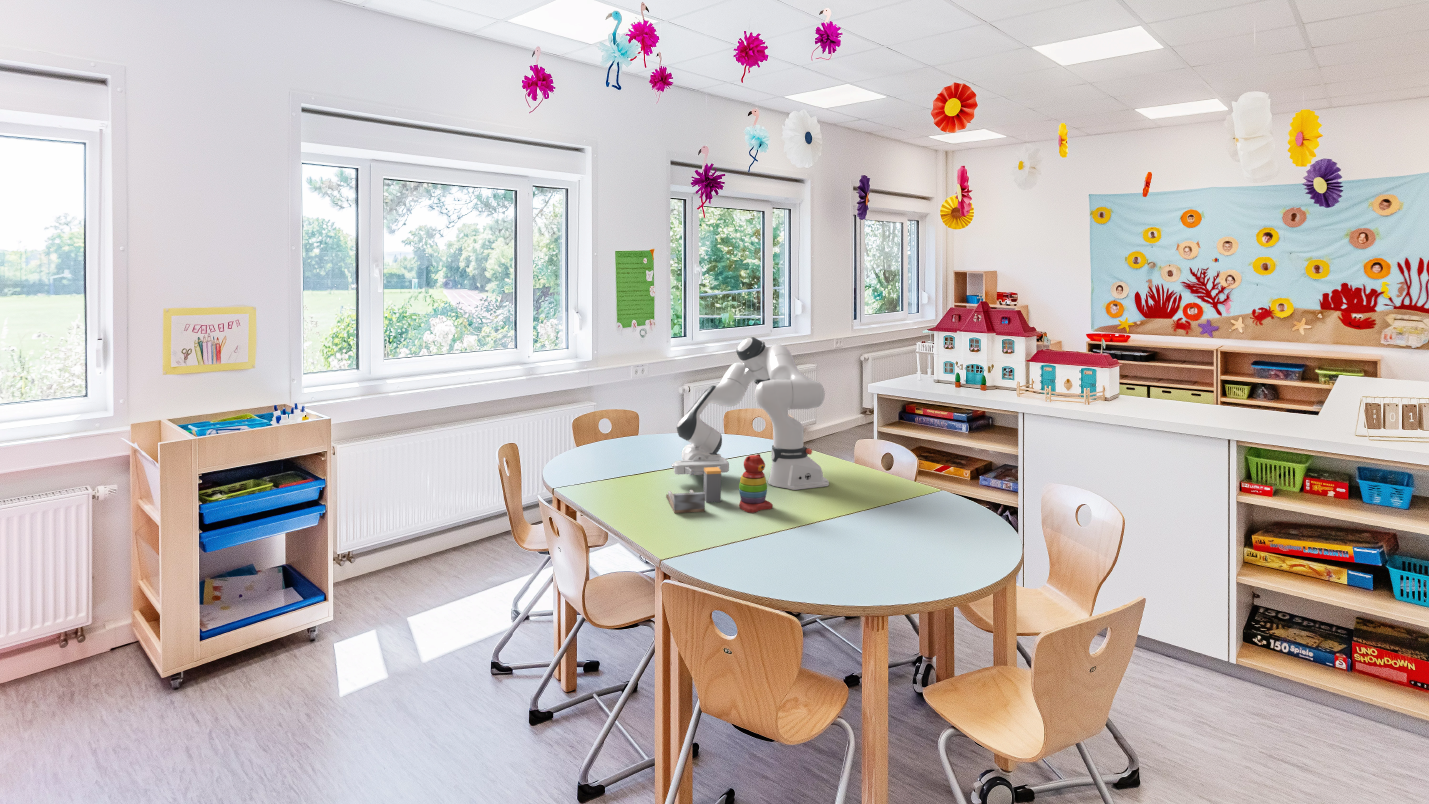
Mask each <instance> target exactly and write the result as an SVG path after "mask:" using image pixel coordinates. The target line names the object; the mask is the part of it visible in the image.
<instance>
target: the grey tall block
mask: <svg viewBox="0 0 1429 804" xmlns="http://www.w3.org/2000/svg"><path fill="white" fill-rule="evenodd" d="M703 492H704V493H705V504H707V503H711V504H712V503H721V502H722V500H721V499H722V498H721V497H722V473H721V470H720V469H719V468H718V467H707V468H704V474H703Z"/></svg>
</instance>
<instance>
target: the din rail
mask: <svg viewBox="0 0 1429 804" xmlns="http://www.w3.org/2000/svg"><path fill="white" fill-rule="evenodd" d="M665 498H666V500H667V502H668V503H669V505H670V507H671V509H672V511H673V513H674V514H687V513H702V512H704V513H705V512H706V511H705V510H706V509H705V508H706V507H705V505H706V501H705V493H704V491H701V492H695V491H694V490H693V489H690V490H689V492H681V493H679V492H678V493H677V492H676V493H673V491H672V490H668V492H667V494H666V495H665Z"/></svg>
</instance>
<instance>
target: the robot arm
mask: <svg viewBox="0 0 1429 804" xmlns="http://www.w3.org/2000/svg"><path fill="white" fill-rule="evenodd" d="M735 351H736V355H737V356H738V358H739V360H741V361H742V362H735V363H732V364H731V365H730V366H729V368H727V370H726V371H725V373H724V374H723V376H722V378H721V380H720V382H719V383H718V384H717V385H710V386H709V387H708V388H707V389H706V390H705V391H704V392H703V393H702V394H701V395H700V396H699V398H698V399H697V400H696V401H695V402H694V404H693V405H692V406H691V407H690V409H689V410H688V412H686V414H684V416H683V417H681V418H680V420H679V421H678V423H677V425H676V431H677V435H678V437H680V438H681V439H683V440H685V441H686V442H689V443H688V444H686V445H685V446H684V447H683V449H682V451H681V460H676V461H674V463H671V467H672V468H673V472H674V474H675V475H678V476H680V475H689V476H701V475H704V468H707V467H718V468H719V469H720V470H721V474H722V473H729V471H730V464H729V461H728V460H727V459H726V458H725V457H722V454H720V453H719V452H720V449H721V448H722V445H723V436H722V433H721V432H720V431H718V430H717V429H715V428H714V427H712V426H711V425H709V424H708V423H706V422H705V421H704V420H702V419H701V417H700V416H701V414H702V413H703V412H704V411H705V409H706V408H707V406H708V405H709V404H710V405H711V404H713V405H718V406H721V407H723V408H724V407H726V408H729V407H730V408H731V407H735V406H737V405H738V404H740V403H741V401H742V400H743V399H744V396H745V395H746V393H747V390H748V388H749V386H750V384H751V383H752V382H754V384H756V387H755V390H754V399H755V403H756V404H757V405H758V407H760V408H761V409H762V410H763V411H764V412H765V413H766V414H767V415H768V417H769V419H770V421H771V424H772V430H773V431H772V433H773V434H772V435H773V436H772V437H773V438H772V439H773V440H772V442H773V443H772V445H771V462H772V463H771V469H770V473H769V478H768V480H767V483H768V484H769V485H770V486H773V487H777V488H783V489H788V490H791V491H792V490H793V491H795V490H806V489H813V488H823V487H829V485H830V483H829V482H830V481H829V480H828V479H827V478H826V477H824V474H823V469H822V467H821V466H820V464H819V463H817V462H816V461H815V460H813V459H812V458H811V457H810V456H809V455H812V454H813V450H812V449H811V448H808V447H806V446H805V445H804V437H805V436H804V431H805V430H804V429H805V428H804V425H803V423H802V422H801V421H799V420H798V419H796V418H794V417H791V416H790V415H789V410H810V409H815V408H820V406H821V405H822V404H823V403H824V400H825V396H826V392H825V391H826V390H825V388H824V386H823V384H822V383H821V381H818V380H815V379H812V378H810V377H808V376H806V375H805V374H803V373H802V372H801V371H800V370H799V368H798V367H797V364H796V362H795V359H794V357H793V356H794V355H792V353H791V351H790V350H789V348H788V347H787V346H786V345H784V344H774V345H772V346H770V347H769V346H767V345H766V343H765V342H764V341H763V340H760V339H758V338H756V337H753V336H750V337H749V336H747V337H745V338H743V339H742V340H741V341H740V342H739V343H738V345H737V347H736V350H735Z"/></svg>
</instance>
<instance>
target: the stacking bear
mask: <svg viewBox="0 0 1429 804" xmlns="http://www.w3.org/2000/svg"><path fill="white" fill-rule="evenodd" d="M743 467H744V470H745V471H744V472H743V473H742V474H741V476H740V481H739V484H738V490H739V491H738V492H739V495H740V496H739V497H740V502H739V505H738V507H739V508H740V510H741V511H744V512H745V513H750V514H751V513H752V514H754V513H757V512H758V511H762V510H763V511H764V510H771V509H773V507H774V505H773V503H772V502H770V501H769V500H766V498H767V493H768V484H767V483H768V482H767V478H766V475H765V473H764V470H765V468H766V463H765V461H764V459H763V457H761V454H760V453H758V454H751V455H748V456H746V457H745V459H744V461H743Z"/></svg>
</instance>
